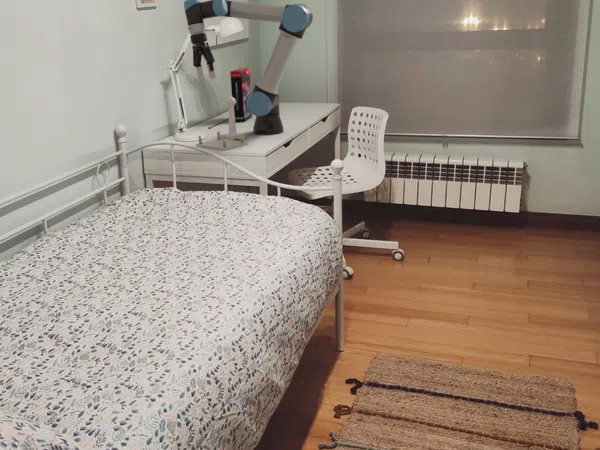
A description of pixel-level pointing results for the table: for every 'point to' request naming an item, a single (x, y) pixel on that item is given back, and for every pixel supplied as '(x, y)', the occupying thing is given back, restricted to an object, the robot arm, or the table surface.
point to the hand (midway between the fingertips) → (207, 79)
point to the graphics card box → (241, 93)
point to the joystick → (231, 122)
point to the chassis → (221, 143)
